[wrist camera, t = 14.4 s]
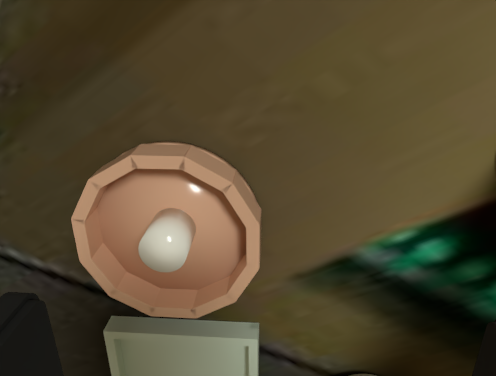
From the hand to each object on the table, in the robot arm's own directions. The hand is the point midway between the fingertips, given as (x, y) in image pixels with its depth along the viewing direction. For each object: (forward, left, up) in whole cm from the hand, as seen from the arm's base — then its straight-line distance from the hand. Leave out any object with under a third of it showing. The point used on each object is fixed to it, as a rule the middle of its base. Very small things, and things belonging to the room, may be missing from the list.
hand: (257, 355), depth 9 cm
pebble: (+10, +14, -29) cm, 34 cm away
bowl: (+10, +14, -30) cm, 35 cm away
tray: (+10, +35, -30) cm, 47 cm away
